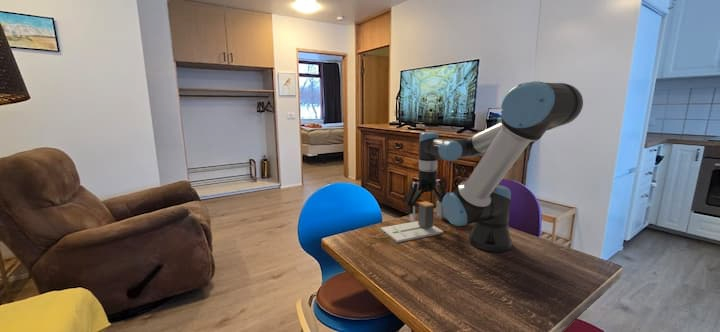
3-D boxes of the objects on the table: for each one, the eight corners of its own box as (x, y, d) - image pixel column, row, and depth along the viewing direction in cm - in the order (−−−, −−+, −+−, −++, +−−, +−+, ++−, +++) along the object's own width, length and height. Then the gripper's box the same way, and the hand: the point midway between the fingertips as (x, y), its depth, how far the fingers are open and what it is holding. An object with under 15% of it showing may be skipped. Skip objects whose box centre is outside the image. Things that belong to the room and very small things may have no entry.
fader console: (443, 233, 127) (443, 230, 127) (397, 242, 119) (397, 240, 118) (423, 221, 140) (423, 219, 140) (380, 229, 131) (380, 227, 131)
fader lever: (432, 227, 130) (433, 204, 128) (424, 228, 129) (425, 205, 127) (425, 223, 135) (426, 201, 133) (418, 224, 133) (418, 202, 131)
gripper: (445, 165, 135) (443, 211, 139) (396, 170, 126) (395, 219, 130) (457, 168, 129) (454, 216, 133) (406, 174, 119) (405, 225, 123)
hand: (425, 218), depth 131 cm, fingers open, 13 cm apart
